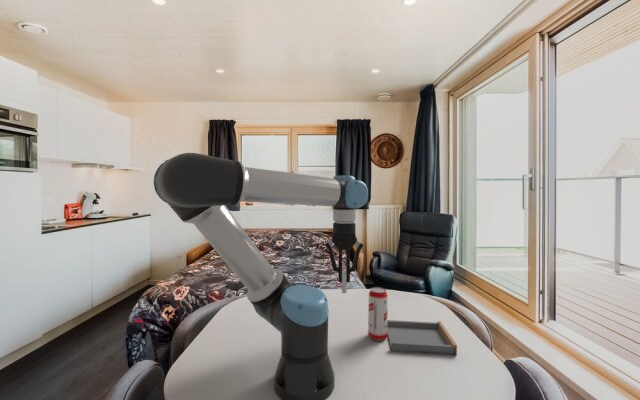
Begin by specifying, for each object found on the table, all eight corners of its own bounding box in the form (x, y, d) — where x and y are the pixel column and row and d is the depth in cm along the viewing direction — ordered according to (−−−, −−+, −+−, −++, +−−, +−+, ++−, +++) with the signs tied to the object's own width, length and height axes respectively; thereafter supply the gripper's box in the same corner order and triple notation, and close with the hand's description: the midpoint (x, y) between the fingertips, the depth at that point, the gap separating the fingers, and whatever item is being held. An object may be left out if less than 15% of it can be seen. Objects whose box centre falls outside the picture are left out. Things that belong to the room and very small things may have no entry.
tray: (456, 355, 86) (456, 345, 86) (391, 350, 88) (391, 341, 88) (440, 329, 102) (440, 321, 102) (385, 326, 104) (385, 318, 104)
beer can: (385, 333, 99) (386, 286, 99) (388, 342, 93) (389, 293, 93) (367, 332, 100) (368, 286, 99) (368, 341, 94) (369, 292, 93)
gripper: (363, 220, 100) (363, 288, 101) (325, 220, 101) (326, 287, 102) (364, 223, 92) (364, 296, 93) (323, 223, 94) (324, 294, 94)
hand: (344, 291), depth 98 cm, fingers closed
